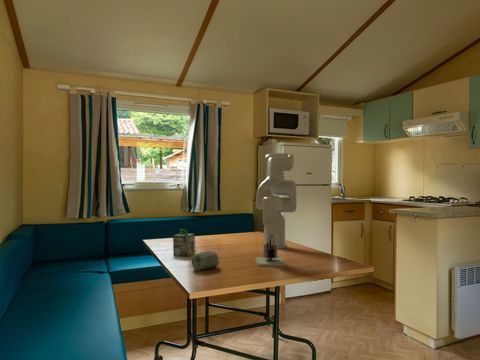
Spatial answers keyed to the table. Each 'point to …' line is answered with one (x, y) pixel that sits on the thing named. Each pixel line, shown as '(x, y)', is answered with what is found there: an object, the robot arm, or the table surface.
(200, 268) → the grey green cylinder
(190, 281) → the table surface
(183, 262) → the table surface
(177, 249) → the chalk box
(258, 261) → the post board
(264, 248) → the collar
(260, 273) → the table surface
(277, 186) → the robot arm
